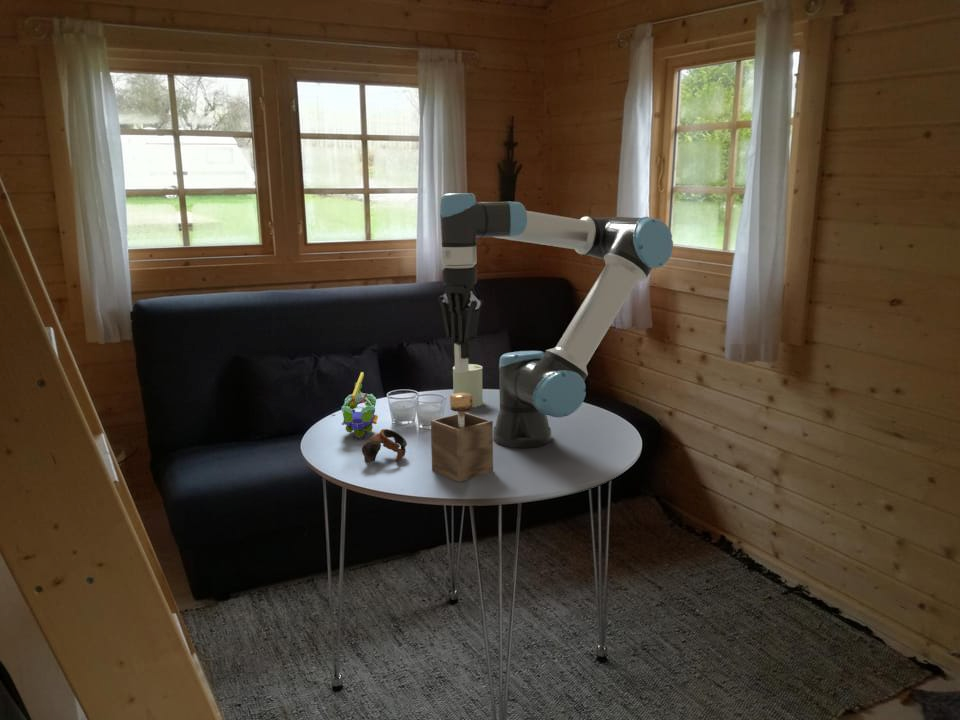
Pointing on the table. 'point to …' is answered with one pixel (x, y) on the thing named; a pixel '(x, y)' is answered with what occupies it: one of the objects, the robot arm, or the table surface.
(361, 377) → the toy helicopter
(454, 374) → the can
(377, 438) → the brown arched band part
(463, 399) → the plunger
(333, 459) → the table surface
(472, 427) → the box
